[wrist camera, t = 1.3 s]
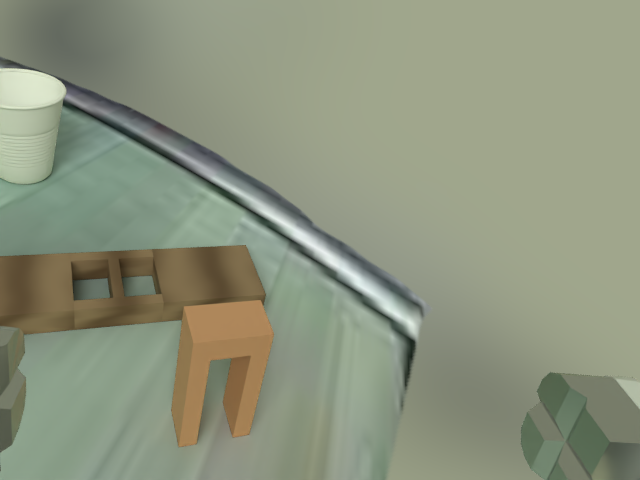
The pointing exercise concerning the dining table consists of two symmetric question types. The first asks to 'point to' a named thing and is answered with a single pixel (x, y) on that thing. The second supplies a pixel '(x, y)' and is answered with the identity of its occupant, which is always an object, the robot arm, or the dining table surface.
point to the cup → (28, 124)
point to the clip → (213, 344)
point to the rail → (121, 286)
